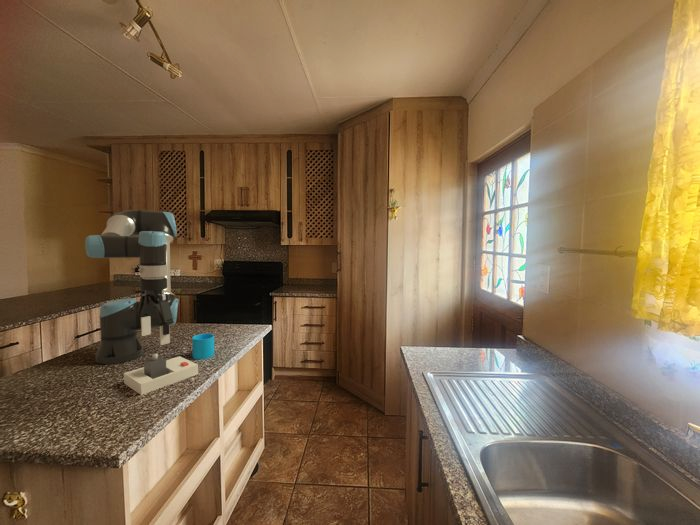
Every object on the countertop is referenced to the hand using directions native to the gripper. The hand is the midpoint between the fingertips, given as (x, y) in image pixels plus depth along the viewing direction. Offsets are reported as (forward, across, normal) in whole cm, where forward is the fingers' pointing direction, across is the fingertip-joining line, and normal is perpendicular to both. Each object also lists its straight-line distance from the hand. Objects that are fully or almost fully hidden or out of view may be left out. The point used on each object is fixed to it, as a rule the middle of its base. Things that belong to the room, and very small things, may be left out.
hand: (155, 339), depth 99 cm
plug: (+14, 0, 0) cm, 14 cm away
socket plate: (+14, +1, +2) cm, 15 cm away
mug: (+15, -9, +23) cm, 29 cm away
